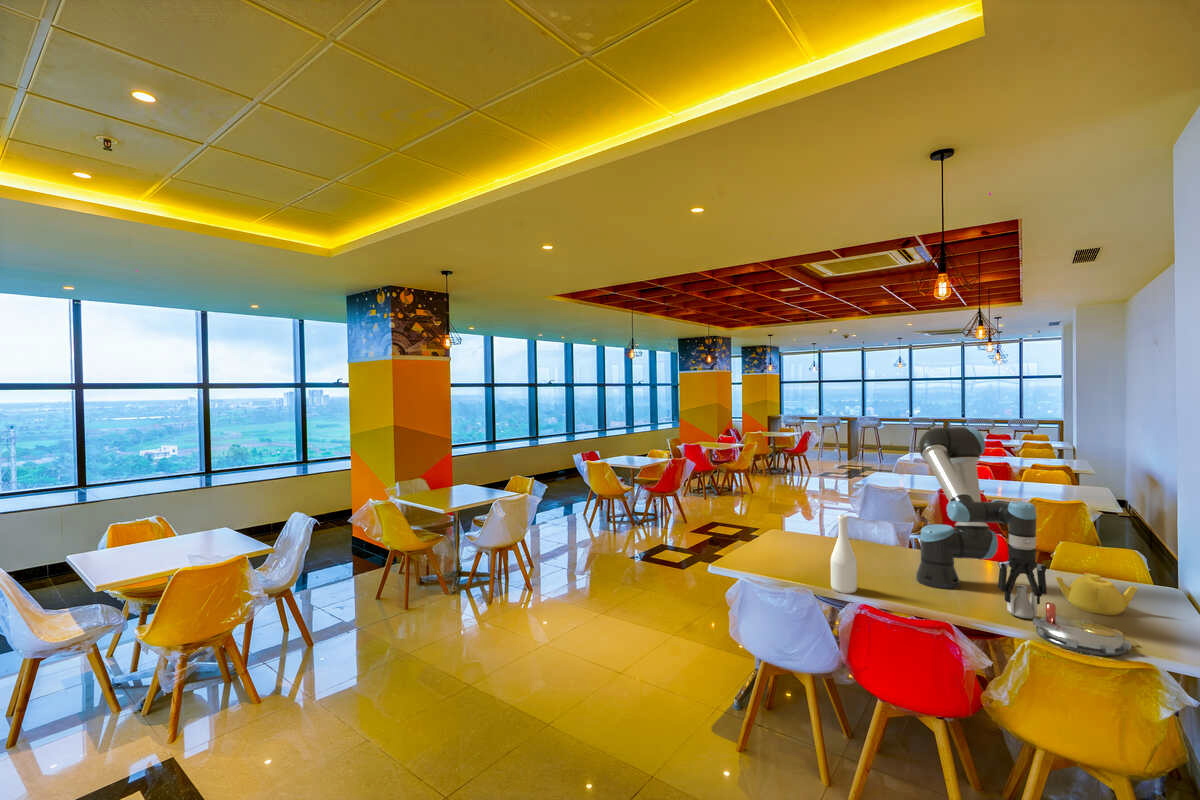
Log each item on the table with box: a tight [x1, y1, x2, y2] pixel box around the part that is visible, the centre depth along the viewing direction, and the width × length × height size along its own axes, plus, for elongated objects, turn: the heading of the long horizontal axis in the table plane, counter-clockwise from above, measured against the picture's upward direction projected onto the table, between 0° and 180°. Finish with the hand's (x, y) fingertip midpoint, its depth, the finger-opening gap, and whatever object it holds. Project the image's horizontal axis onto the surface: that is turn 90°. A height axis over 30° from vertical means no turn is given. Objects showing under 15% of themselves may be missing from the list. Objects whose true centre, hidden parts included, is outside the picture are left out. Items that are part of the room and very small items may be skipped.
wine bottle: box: [830, 514, 858, 594], centre depth 211 cm, size 10×10×30 cm
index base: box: [1036, 626, 1138, 658], centre depth 165 cm, size 24×21×1 cm
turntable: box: [1032, 602, 1132, 653], centre depth 166 cm, size 23×23×8 cm
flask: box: [1007, 584, 1037, 619], centre depth 184 cm, size 7×7×10 cm
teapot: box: [1054, 572, 1138, 616], centre depth 190 cm, size 17×17×12 cm
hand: (1021, 611), depth 184 cm, fingers closed on flask, 6 cm apart
